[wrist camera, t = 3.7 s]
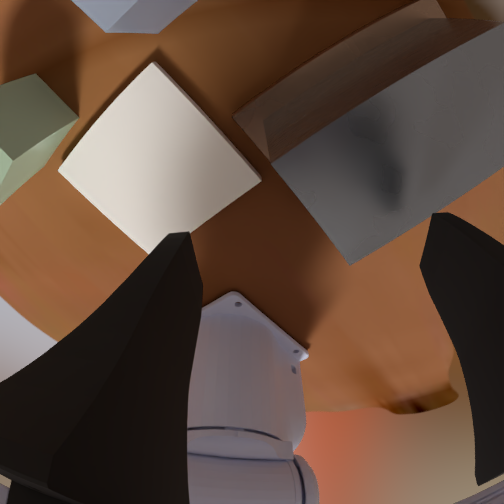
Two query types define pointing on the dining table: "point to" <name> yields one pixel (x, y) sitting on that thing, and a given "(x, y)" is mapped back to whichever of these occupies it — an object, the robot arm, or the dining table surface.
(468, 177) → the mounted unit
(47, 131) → the sage part
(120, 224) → the plate
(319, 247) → the dining table surface
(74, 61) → the dining table surface
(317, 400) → the dining table surface
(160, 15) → the blue-grey part
